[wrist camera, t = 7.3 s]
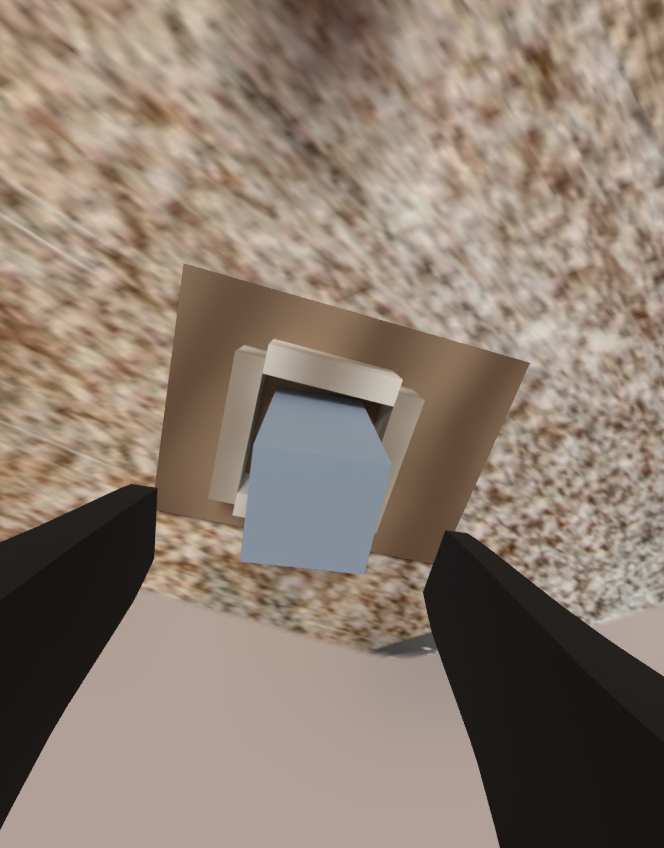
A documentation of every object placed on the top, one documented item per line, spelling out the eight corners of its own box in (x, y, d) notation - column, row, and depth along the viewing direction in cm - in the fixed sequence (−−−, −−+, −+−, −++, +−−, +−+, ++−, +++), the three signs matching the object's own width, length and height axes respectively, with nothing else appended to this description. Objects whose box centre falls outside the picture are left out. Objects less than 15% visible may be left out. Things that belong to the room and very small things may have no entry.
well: (522, 360, 17) (557, 370, 15) (436, 558, 21) (452, 592, 18) (188, 264, 15) (164, 258, 13) (156, 503, 19) (133, 533, 16)
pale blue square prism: (361, 400, 17) (391, 464, 10) (345, 474, 18) (364, 574, 12) (277, 386, 16) (253, 444, 10) (267, 464, 18) (240, 561, 11)
